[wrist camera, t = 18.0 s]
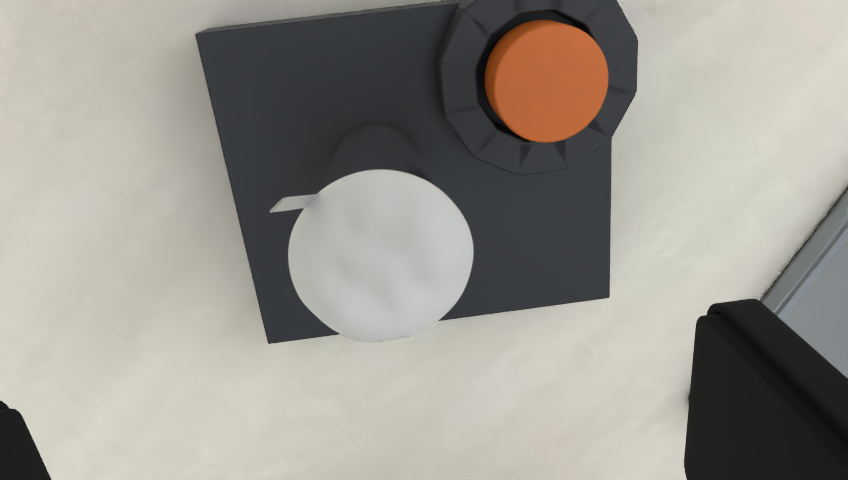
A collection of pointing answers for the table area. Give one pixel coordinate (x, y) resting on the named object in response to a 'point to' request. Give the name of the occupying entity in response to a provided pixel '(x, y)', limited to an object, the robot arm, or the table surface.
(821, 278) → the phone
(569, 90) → the button
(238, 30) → the dark grey flat block
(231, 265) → the table surface
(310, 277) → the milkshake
